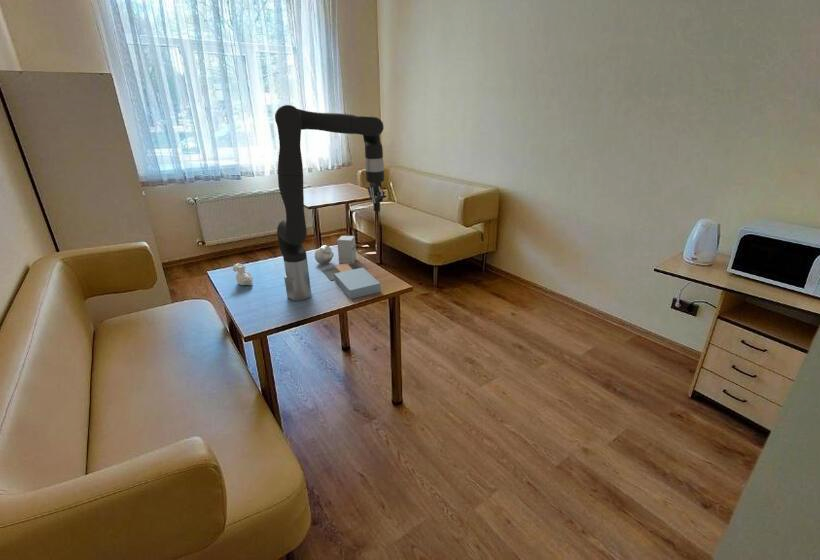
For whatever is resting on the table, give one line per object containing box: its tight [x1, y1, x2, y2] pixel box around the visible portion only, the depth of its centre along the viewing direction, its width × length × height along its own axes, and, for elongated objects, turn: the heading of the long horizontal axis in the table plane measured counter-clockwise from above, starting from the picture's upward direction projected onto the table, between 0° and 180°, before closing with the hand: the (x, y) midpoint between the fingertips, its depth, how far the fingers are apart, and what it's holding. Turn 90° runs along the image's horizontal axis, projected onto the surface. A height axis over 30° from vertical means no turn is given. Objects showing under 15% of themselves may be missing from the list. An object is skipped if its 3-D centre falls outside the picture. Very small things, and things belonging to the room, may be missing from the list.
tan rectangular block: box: [334, 263, 353, 273], centre depth 196 cm, size 9×6×3 cm, turn 27°
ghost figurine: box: [314, 244, 335, 266], centre depth 206 cm, size 9×10×10 cm
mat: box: [321, 262, 360, 282], centre depth 198 cm, size 14×17×1 cm
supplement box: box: [336, 235, 357, 265], centre depth 209 cm, size 7×7×13 cm
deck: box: [334, 267, 381, 300], centre depth 183 cm, size 20×14×4 cm
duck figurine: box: [232, 262, 253, 286], centre depth 186 cm, size 12×8×11 cm
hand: (376, 211), depth 174 cm, fingers closed
